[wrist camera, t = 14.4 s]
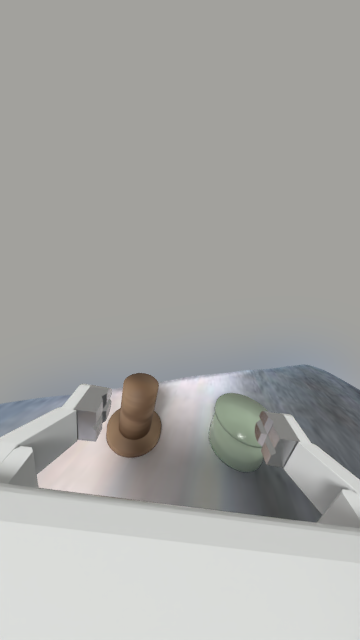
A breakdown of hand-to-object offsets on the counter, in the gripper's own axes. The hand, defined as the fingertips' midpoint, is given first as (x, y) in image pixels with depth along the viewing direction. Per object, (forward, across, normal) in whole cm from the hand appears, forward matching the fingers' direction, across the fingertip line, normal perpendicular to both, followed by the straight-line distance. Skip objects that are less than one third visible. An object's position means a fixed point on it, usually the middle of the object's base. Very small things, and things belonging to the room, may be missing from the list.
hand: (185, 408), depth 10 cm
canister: (+14, -12, +20) cm, 28 cm away
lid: (+14, +5, +20) cm, 25 cm away
